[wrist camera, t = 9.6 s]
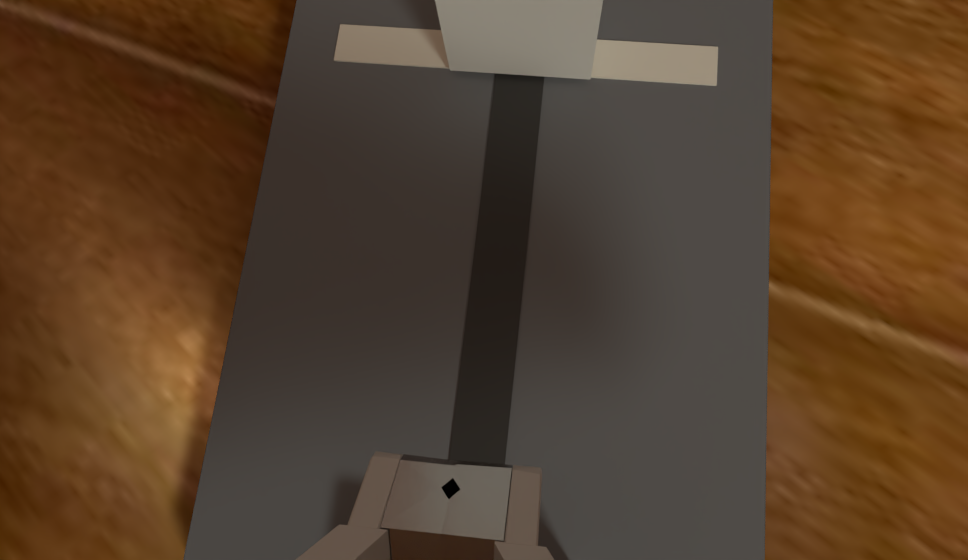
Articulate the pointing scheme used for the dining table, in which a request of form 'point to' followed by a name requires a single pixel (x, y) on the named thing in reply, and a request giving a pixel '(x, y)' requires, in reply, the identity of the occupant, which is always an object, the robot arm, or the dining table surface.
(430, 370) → the board
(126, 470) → the dining table surface
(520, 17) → the fader tab
